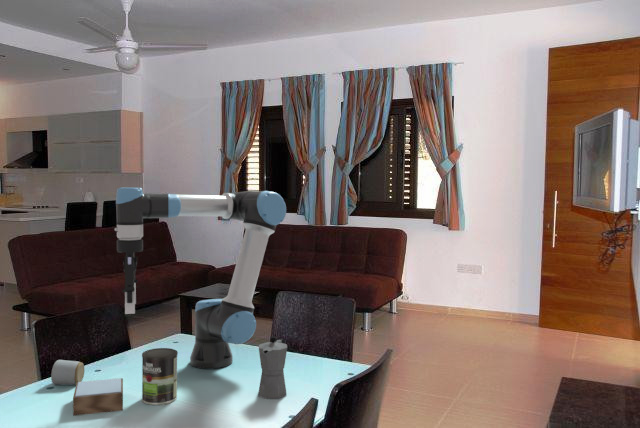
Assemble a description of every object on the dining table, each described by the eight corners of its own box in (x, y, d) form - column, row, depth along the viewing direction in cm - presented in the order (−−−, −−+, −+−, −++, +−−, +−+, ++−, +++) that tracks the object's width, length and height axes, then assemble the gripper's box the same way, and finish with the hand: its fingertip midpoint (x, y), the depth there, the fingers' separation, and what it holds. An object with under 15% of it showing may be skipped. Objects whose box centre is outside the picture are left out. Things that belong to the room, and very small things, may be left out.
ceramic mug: (76, 387, 177) (77, 363, 177) (50, 387, 177) (50, 363, 177) (89, 377, 188) (89, 354, 188) (64, 377, 188) (64, 354, 188)
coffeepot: (278, 403, 167) (279, 343, 166) (249, 399, 170) (250, 340, 169) (296, 386, 182) (297, 331, 181) (269, 382, 185) (270, 328, 184)
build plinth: (122, 394, 172) (122, 377, 172) (122, 410, 160) (122, 391, 160) (76, 399, 168) (76, 381, 168) (73, 415, 156) (73, 396, 156)
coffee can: (163, 407, 163) (163, 359, 162) (134, 402, 166) (134, 355, 166) (184, 395, 172) (184, 350, 172) (156, 390, 176) (156, 346, 175)
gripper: (118, 235, 180) (119, 301, 181) (114, 243, 156) (115, 318, 157) (143, 234, 182) (143, 299, 183) (142, 242, 158) (143, 317, 159)
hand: (130, 308), depth 170 cm, fingers open, 13 cm apart
